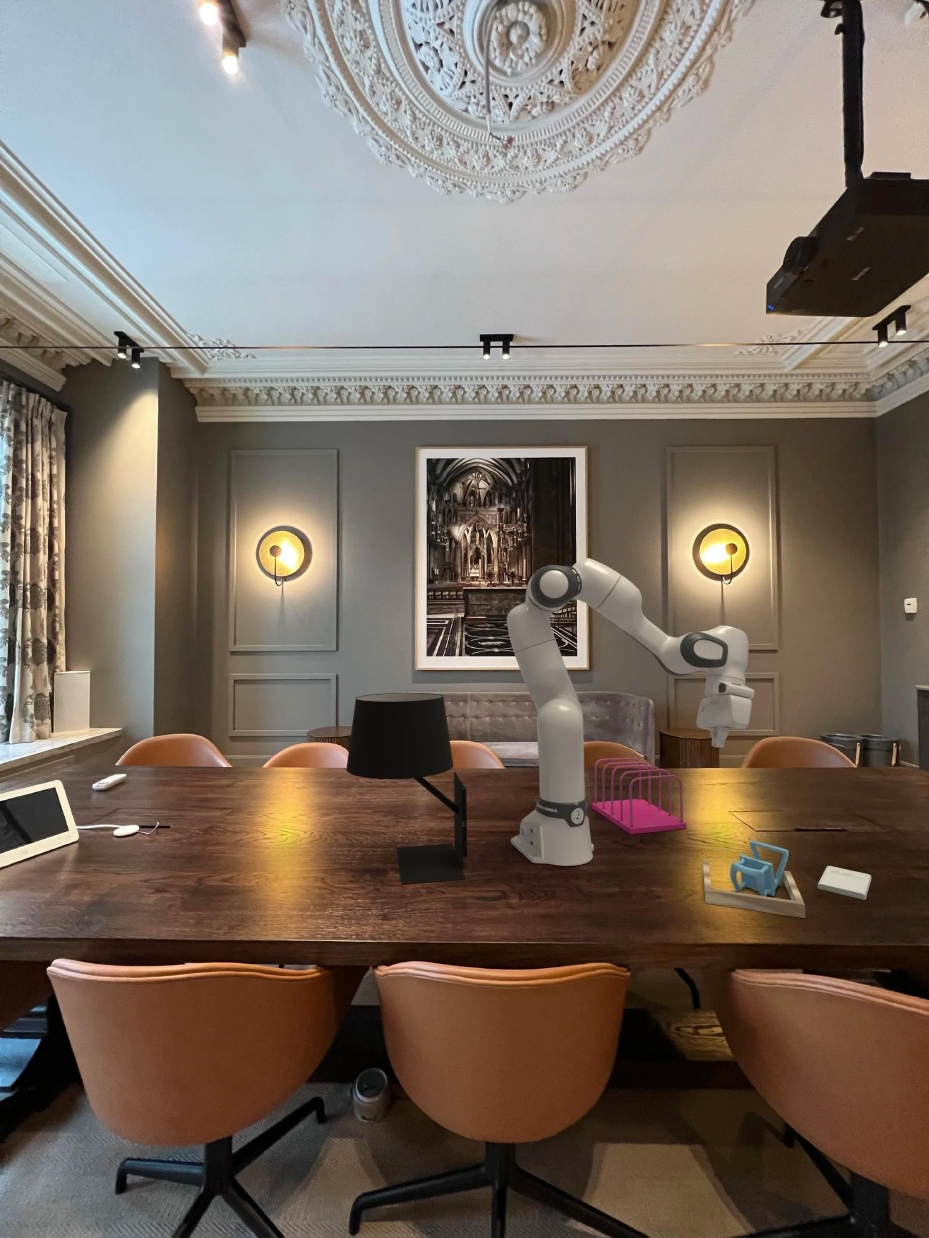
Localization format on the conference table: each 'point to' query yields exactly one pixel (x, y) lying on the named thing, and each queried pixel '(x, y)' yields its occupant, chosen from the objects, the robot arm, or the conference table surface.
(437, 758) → the table lamp
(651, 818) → the file sorter
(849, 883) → the external hard drive
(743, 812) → the conference table surface
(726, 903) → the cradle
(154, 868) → the conference table surface
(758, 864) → the chair
